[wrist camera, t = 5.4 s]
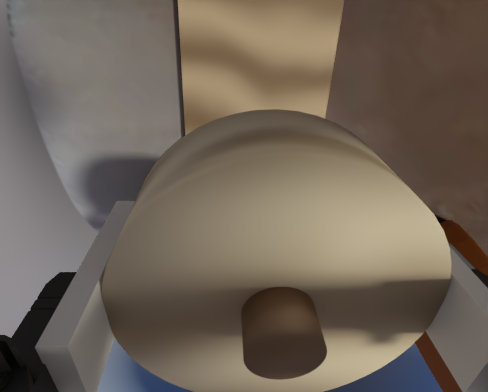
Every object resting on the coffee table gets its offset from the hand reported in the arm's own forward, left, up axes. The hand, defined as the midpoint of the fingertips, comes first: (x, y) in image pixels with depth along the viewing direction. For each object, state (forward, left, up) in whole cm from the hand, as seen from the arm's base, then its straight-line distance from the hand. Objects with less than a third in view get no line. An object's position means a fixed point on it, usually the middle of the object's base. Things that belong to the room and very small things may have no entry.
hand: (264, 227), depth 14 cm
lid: (0, 0, 0) cm, 1 cm away
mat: (-4, +2, -22) cm, 23 cm away
